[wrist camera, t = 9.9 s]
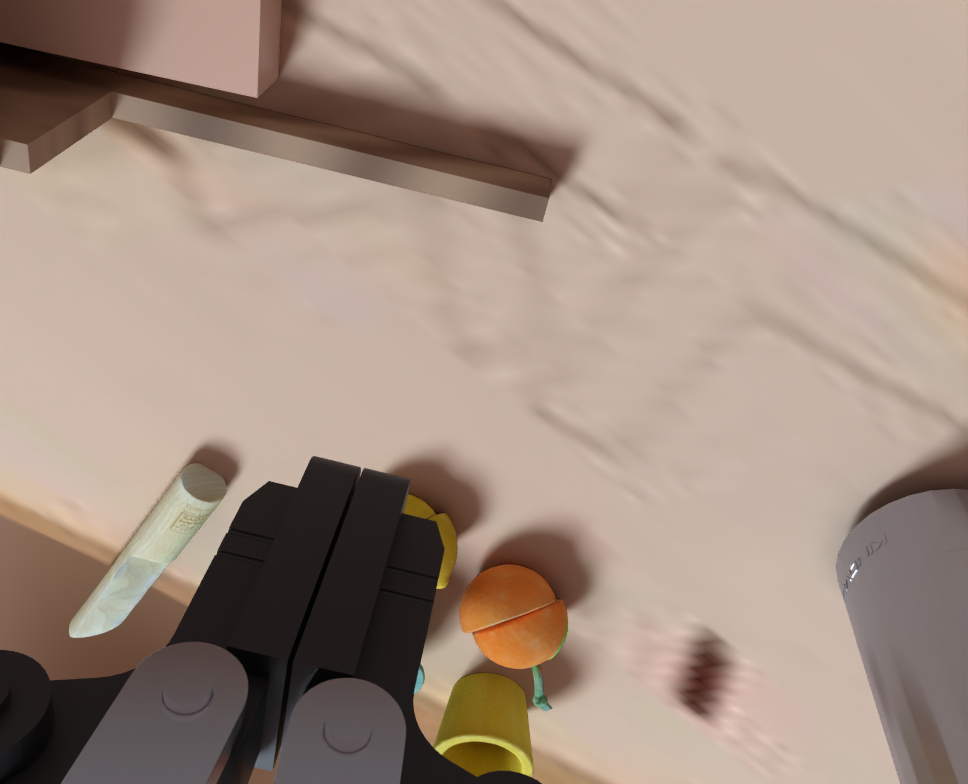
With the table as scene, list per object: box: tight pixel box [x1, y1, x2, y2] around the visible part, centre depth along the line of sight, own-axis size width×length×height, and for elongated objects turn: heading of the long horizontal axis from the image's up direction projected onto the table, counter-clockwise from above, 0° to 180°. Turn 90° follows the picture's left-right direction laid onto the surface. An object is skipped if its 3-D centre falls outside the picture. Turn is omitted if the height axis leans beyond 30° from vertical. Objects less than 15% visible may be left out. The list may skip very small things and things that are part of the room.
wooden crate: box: [0, 45, 551, 222], centre depth 29 cm, size 26×10×9 cm, turn 78°
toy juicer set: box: [69, 463, 568, 777], centre depth 48 cm, size 29×18×8 cm, turn 74°
